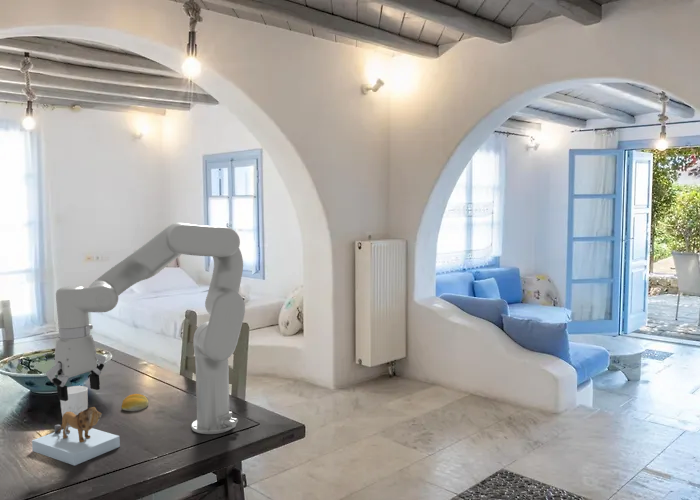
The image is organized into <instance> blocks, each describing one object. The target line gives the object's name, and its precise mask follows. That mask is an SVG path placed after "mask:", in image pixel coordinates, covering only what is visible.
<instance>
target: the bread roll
mask: <svg viewBox="0 0 700 500" xmlns="http://www.w3.org/2000/svg"><path fill="white" fill-rule="evenodd" d="M121 403H122V404H121V409H122V410H123V411H124V412H137V411H142V410H144V409H146V408H147V407H148V406H149V400H148V398H147V397H146V396H145V395H144V394H140V393H132V394H129V395H127V396H126V397H124V398H123V400H122V402H121Z"/></svg>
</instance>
